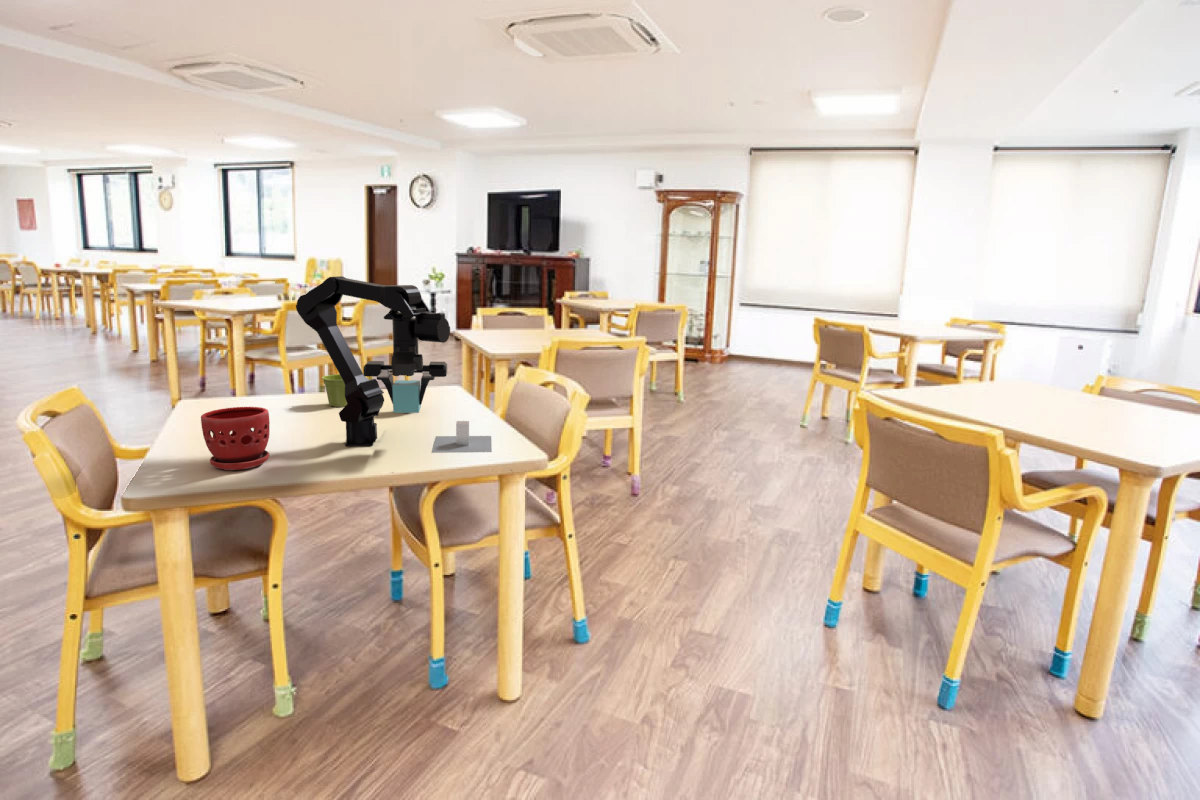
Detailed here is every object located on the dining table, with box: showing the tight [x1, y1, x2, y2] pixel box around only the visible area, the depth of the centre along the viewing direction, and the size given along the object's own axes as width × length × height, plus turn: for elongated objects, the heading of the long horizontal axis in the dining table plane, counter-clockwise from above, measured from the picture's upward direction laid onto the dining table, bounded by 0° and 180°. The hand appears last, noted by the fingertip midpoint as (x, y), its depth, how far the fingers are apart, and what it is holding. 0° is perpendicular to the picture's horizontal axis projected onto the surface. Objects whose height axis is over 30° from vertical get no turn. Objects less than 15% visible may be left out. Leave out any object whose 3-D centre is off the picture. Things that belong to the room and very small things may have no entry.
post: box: [455, 420, 470, 446], centre depth 169 cm, size 3×3×5 cm
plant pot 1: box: [200, 406, 270, 471], centre depth 150 cm, size 13×13×12 cm
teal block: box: [392, 379, 422, 414], centre depth 164 cm, size 6×6×7 cm
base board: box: [431, 435, 493, 454], centre depth 170 cm, size 14×14×1 cm
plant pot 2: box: [321, 373, 347, 408], centre depth 207 cm, size 9×9×9 cm
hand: (407, 404), depth 164 cm, fingers closed on teal block, 6 cm apart
